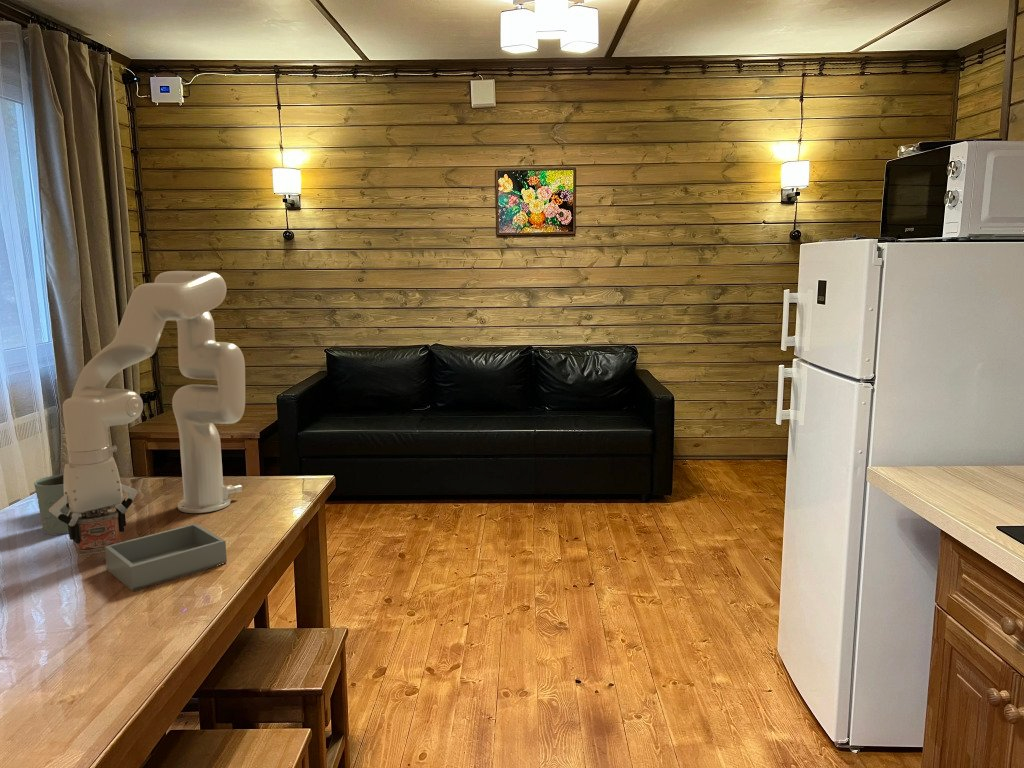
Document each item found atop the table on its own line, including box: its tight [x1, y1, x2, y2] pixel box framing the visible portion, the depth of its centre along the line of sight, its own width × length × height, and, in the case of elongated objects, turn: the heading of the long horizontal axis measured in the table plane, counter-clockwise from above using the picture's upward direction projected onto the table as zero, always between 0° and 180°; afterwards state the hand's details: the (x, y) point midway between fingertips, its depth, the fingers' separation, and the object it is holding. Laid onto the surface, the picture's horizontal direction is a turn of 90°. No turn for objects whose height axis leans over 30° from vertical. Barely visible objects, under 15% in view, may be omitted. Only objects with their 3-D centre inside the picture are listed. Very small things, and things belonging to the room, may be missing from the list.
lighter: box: [76, 505, 122, 555], centre depth 156 cm, size 8×3×10 cm, turn 117°
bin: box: [104, 523, 228, 592], centre depth 154 cm, size 19×15×5 cm
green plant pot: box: [33, 473, 82, 535], centre depth 175 cm, size 10×10×12 cm
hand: (98, 535), depth 156 cm, fingers closed on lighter, 7 cm apart
